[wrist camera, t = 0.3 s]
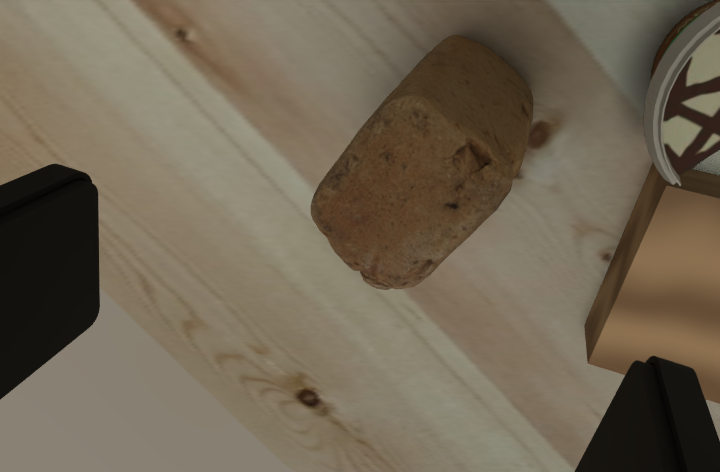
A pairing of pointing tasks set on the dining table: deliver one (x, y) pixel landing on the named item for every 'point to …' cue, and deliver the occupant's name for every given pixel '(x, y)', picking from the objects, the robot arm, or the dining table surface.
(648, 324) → the plinth
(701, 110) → the food container
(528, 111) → the brown lumpy post
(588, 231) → the dining table surface
